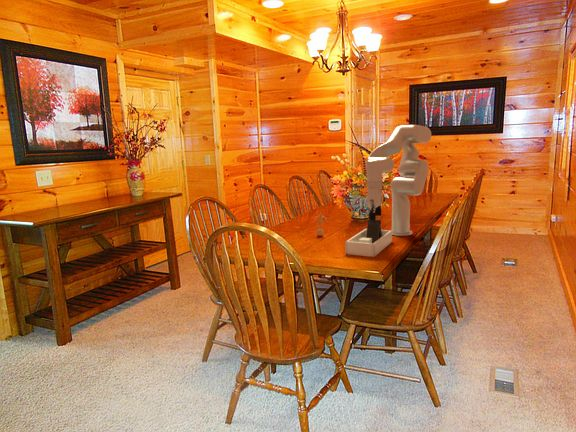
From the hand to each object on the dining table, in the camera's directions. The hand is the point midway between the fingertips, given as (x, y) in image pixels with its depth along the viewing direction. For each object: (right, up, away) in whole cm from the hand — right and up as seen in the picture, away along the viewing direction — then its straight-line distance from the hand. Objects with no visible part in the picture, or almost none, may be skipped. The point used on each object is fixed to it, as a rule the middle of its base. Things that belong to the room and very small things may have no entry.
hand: (375, 217), depth 217 cm
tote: (-4, -15, -4) cm, 16 cm away
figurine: (-26, -10, +24) cm, 37 cm away
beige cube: (-7, -15, -10) cm, 20 cm away
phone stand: (0, -13, +2) cm, 13 cm away
